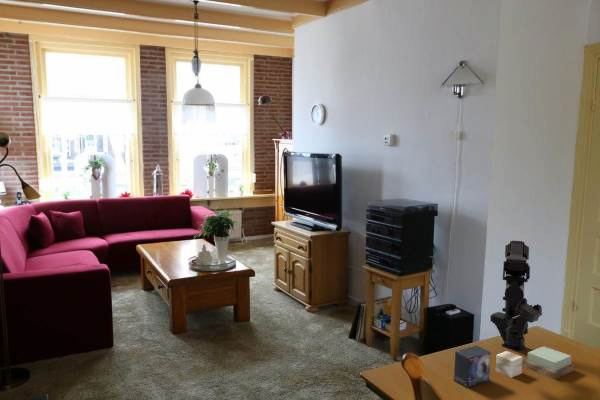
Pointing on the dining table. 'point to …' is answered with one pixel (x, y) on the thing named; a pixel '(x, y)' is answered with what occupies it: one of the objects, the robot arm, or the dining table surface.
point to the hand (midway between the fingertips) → (513, 338)
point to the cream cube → (509, 364)
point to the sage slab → (549, 358)
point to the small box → (472, 366)
